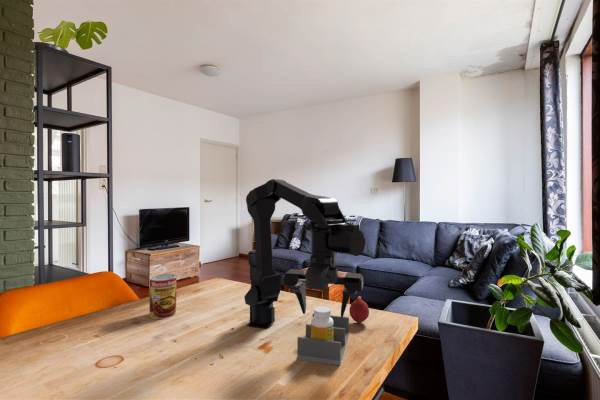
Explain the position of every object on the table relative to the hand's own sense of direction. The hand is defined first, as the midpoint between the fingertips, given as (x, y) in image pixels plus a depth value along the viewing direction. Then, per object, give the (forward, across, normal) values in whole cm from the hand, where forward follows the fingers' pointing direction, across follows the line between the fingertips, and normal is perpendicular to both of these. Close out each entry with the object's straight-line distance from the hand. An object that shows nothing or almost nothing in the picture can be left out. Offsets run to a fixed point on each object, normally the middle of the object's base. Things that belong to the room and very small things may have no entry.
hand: (322, 315), depth 75 cm
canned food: (+9, -54, +11) cm, 56 cm away
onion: (+10, +7, +21) cm, 24 cm away
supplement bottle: (+8, 0, 0) cm, 9 cm away
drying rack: (+9, 0, +4) cm, 10 cm away
